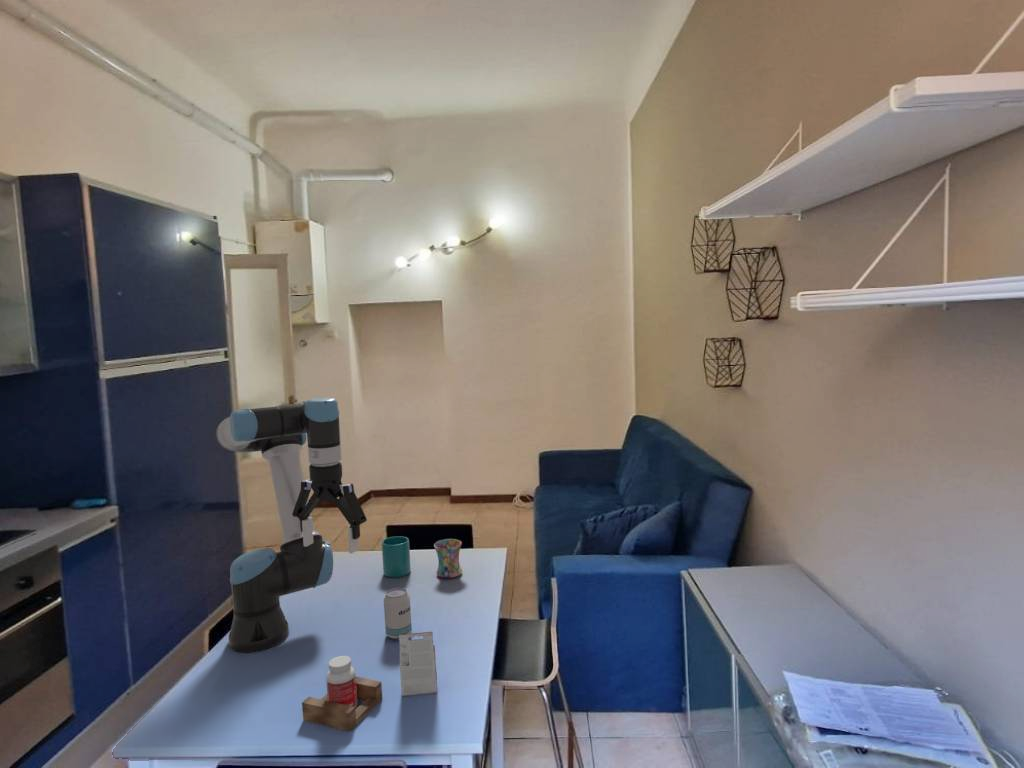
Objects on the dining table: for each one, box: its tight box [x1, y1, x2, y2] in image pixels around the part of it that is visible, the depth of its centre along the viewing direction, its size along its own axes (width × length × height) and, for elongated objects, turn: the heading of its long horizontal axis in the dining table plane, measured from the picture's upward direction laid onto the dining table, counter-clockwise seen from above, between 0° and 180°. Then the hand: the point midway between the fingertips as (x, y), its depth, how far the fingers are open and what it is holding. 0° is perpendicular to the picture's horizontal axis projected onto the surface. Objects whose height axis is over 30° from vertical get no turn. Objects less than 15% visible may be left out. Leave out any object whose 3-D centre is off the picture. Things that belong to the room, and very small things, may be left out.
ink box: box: [398, 631, 438, 697], centre depth 141 cm, size 4×8×15 cm, turn 96°
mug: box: [433, 538, 463, 579], centre depth 205 cm, size 12×9×11 cm
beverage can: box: [383, 587, 413, 641], centre depth 167 cm, size 7×7×12 cm
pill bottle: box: [325, 655, 358, 710], centre depth 136 cm, size 6×6×11 cm
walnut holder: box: [301, 676, 383, 733], centre depth 136 cm, size 12×12×4 cm
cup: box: [381, 535, 412, 578], centre depth 211 cm, size 9×12×11 cm
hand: (330, 548), depth 151 cm, fingers open, 13 cm apart
